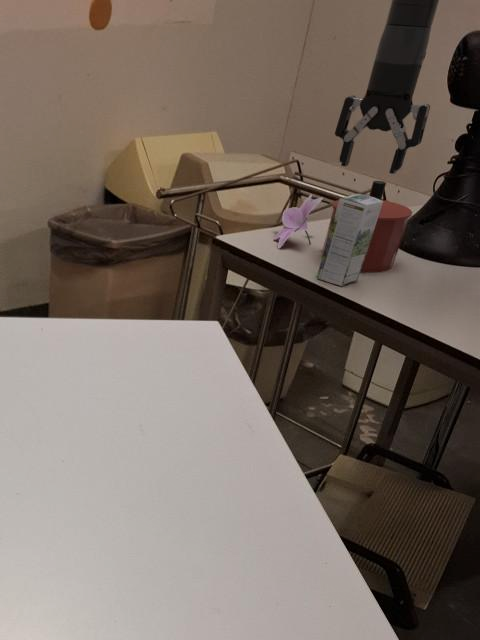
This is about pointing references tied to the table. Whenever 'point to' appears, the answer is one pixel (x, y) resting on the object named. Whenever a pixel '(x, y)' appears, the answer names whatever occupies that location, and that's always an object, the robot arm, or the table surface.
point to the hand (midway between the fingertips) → (368, 169)
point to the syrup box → (349, 239)
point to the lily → (296, 220)
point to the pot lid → (385, 205)
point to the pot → (380, 244)
